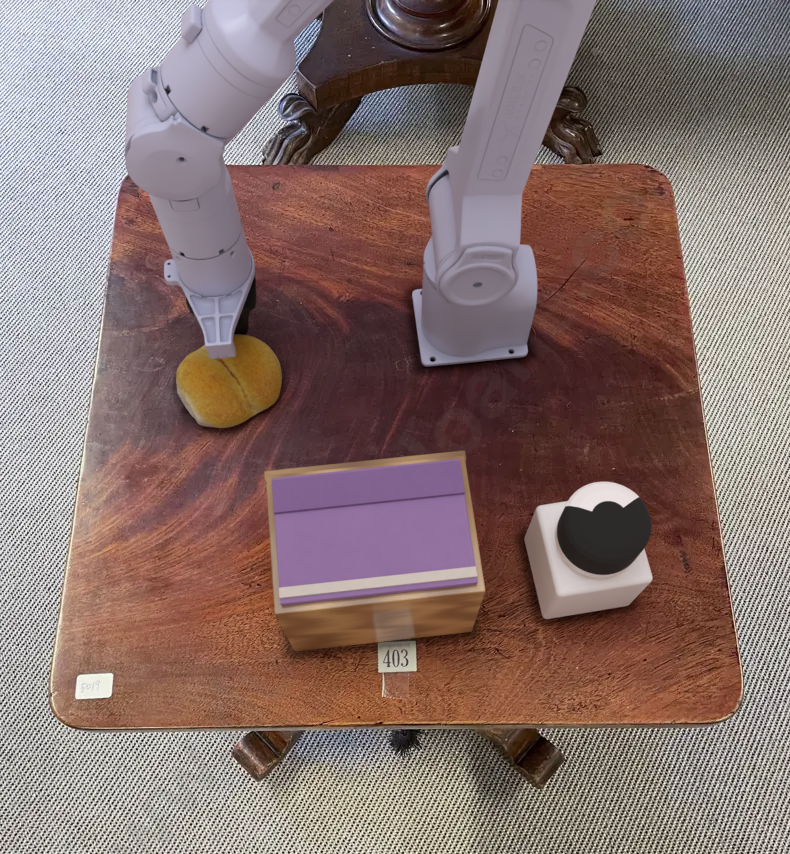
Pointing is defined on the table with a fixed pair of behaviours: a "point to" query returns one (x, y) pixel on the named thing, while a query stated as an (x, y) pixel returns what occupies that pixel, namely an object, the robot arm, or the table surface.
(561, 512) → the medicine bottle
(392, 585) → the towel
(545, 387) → the table surface
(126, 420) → the table surface
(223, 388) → the bread roll
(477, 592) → the crate
